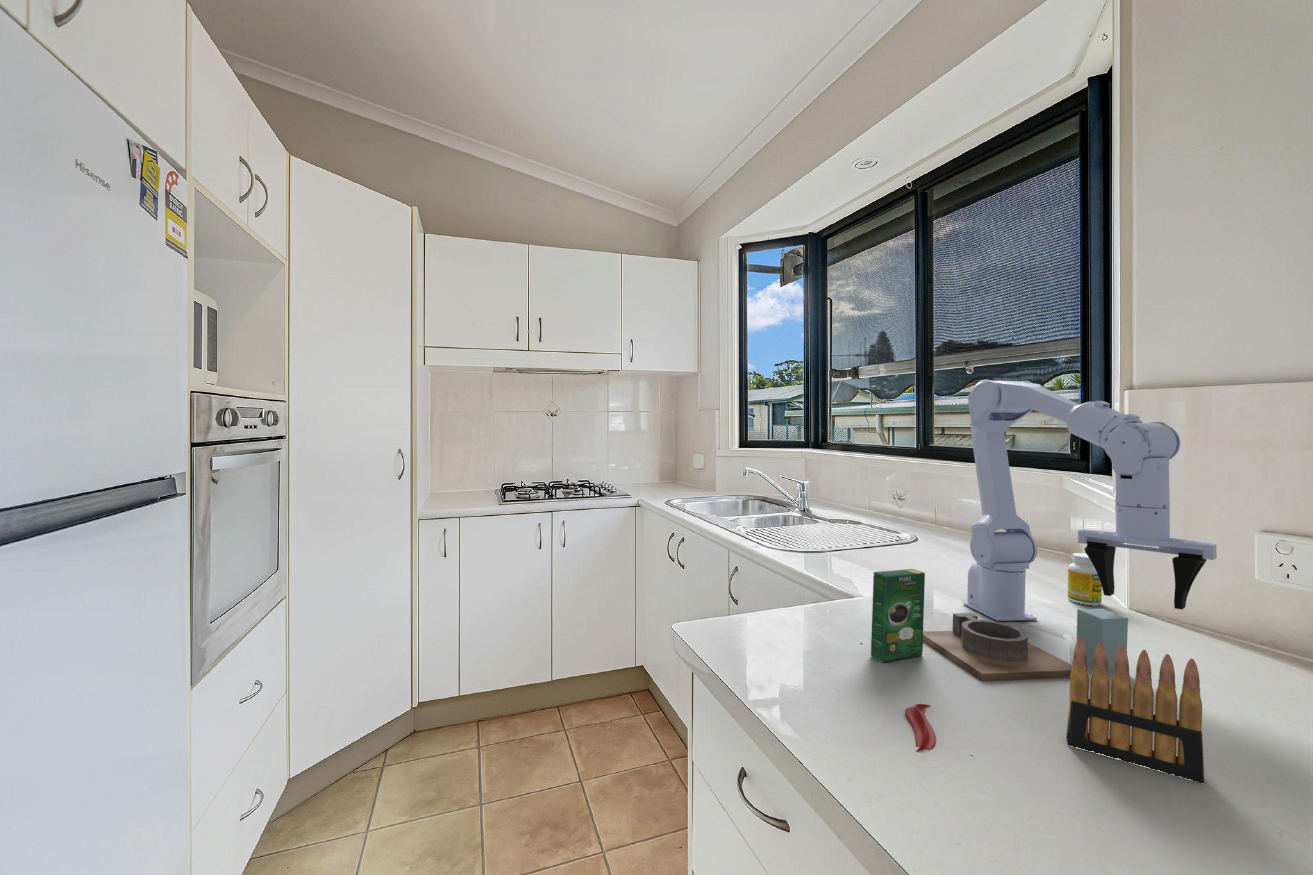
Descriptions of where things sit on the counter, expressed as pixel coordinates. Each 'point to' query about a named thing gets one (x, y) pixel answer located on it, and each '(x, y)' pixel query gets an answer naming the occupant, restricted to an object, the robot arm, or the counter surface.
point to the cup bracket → (995, 650)
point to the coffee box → (897, 614)
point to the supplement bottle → (1084, 581)
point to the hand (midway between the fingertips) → (1142, 600)
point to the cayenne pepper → (921, 727)
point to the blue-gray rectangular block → (1102, 633)
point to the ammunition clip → (1137, 713)
